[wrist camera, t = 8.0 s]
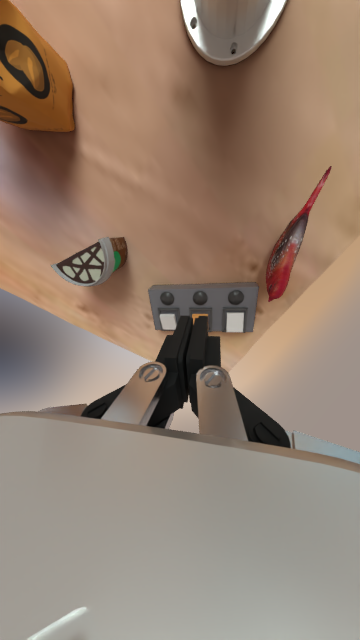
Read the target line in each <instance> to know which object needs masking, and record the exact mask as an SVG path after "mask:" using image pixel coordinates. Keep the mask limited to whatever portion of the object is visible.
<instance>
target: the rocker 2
mask: <svg viewBox="0 0 360 640" xmlns="http://www.w3.org/2000/svg"><path fill="white" fill-rule="evenodd" d="M243 321H244V313H243V312H227V325H226V332H243Z"/></svg>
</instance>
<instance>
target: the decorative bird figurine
mask: <svg viewBox="0 0 360 640" xmlns="http://www.w3.org/2000/svg"><path fill="white" fill-rule="evenodd" d="M330 170H331V166H330V167H329V169H328V170H327V171H326V173H325V174H324V175H323V177H322V179H321V180H320V182H319V184H318V185H317V187H316V188H315V190H314V191H313V193H312V195H311V196H310V198H309V199H308V201H307V203H306V204H305V205H304V207H303V208H302V210H301V211H300V212H299V213H298V214H297V215H296V216H295V217H294V218H293V220H292V221H291V222H290V223H289V225H288V226H287V228H286V229H285V231H284V232H283V234H282V235H281V237H280V238H279V240H278V241H277V243H276V245H275V247H274V249H273V252H272V254H271V257H270V259H269V263H268V267H267V272H266V283H267V292H268V295H269V300H268V302H270V301H272V300H273V299H277V298H279V297H281V296H282V295H283V293H284V291H285V289H286V287H287V285H288V281H289V277H290V272H291V269H292V267H293V264H294V261H295V259H296V256H297V254H298V251H299V249H300V246H301V243H302V240H303V237H304V233H305V230H306V226H307V222H308V216H309V212H310V210H311V208H312V206H313V204H314V202H315V200H316V198H317V196H318V194H319V192H320V190H321V188H322V186H323V185H324V183H325V181H326V179H327V177H328V175H329V173H330Z"/></svg>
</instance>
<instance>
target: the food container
mask: <svg viewBox="0 0 360 640" xmlns="http://www.w3.org/2000/svg"><path fill="white" fill-rule="evenodd" d="M98 240H99V242H97V243H95V244H94V245H92V246H90V247H88V248H86V249H84V250H82V251H80V252H78V253H76V254H74V255H73V256H71V257H69V258H67V259H65V260H63V261H62V262H60V263H57V264H53V265H51V267H52V268H53V269H54V270H55V271H56V272H57V274H59V275H60V276H61V277H62V278H63V279H65V280H66V281H68V282H70V283H72V284H75V285H79V286H95V285H99V284H102V283H103V282H105V281H106V280H107V279H108V278H109V277H110V275H111V273H112V272H114V271H115V270H117V269H118V268H120V267H121V266H122V265H123V264H124V263H125V261H126V259H127V244H126V241H125V239H124V237H121V238H109V237H106V238H102V239H98Z"/></svg>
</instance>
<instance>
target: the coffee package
mask: <svg viewBox="0 0 360 640" xmlns="http://www.w3.org/2000/svg"><path fill="white" fill-rule="evenodd" d="M72 90H73V84H72V80H71V77H70V72H69V70H68V66H67V64H66V62H65V61H64V60H63V59H62V58H61V57H60V56H59V55H58V54H57V53H56V52H55V50H54V49H53V48H52V47H51V46H50V45H49V44H48V43H47V42H46V41H45V40H44V39H43V38H42V37H41V36H40V35H39V34H38V33H37V31H36V30H35V29H34V28H33V27H32V25H31V24H30V23H29V22H28V21H27V20H26V18H25V17H24V16H23V15H22V13H21V12H20V11H19V10H18V9H17V7H15V6H14V5H13V4H12V3H11V2H10V1H9V0H0V121H3V122H5V123H8V124H12V125H15V126H18V127H20V128H23V129H28V130H40V131H57V132H69V131H72V130H74V128H75V123H74V120H73V115H72V111H73V105H72Z"/></svg>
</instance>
